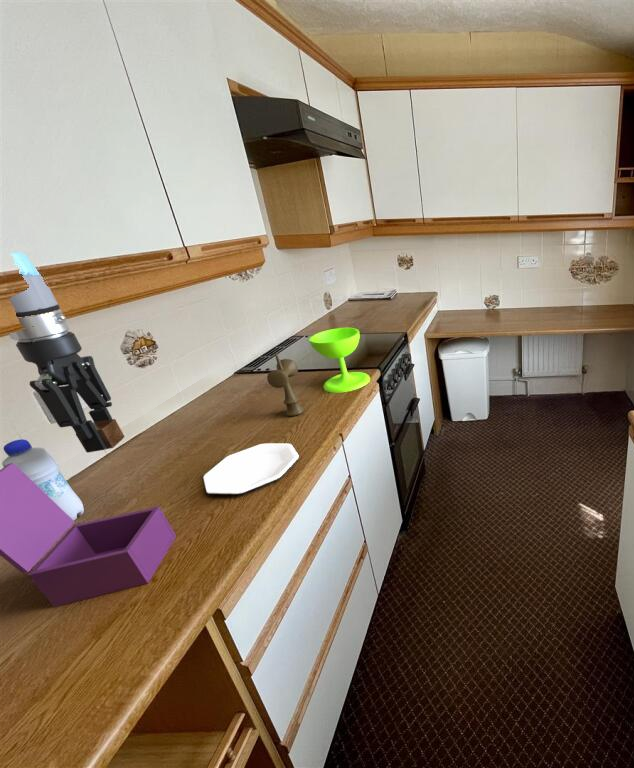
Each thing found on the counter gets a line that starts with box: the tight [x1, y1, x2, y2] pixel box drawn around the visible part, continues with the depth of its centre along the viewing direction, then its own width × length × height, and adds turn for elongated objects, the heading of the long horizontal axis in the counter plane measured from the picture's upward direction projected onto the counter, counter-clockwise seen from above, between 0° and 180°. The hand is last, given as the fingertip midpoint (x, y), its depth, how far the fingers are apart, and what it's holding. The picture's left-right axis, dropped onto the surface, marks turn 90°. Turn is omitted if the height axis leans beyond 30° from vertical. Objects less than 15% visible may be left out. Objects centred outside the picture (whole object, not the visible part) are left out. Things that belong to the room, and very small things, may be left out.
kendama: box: [266, 353, 305, 417], centre depth 122 cm, size 6×10×20 cm, turn 9°
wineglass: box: [308, 327, 371, 394], centre depth 141 cm, size 16×16×18 cm
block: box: [75, 418, 126, 453], centre depth 83 cm, size 4×4×4 cm
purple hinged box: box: [27, 506, 177, 608], centre depth 73 cm, size 14×12×8 cm
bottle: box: [1, 438, 85, 521], centre depth 84 cm, size 7×7×20 cm
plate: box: [202, 442, 300, 496], centre depth 100 cm, size 20×20×2 cm
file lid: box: [0, 463, 76, 574], centre depth 67 cm, size 14×12×1 cm
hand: (105, 443), depth 84 cm, fingers closed on block, 4 cm apart
